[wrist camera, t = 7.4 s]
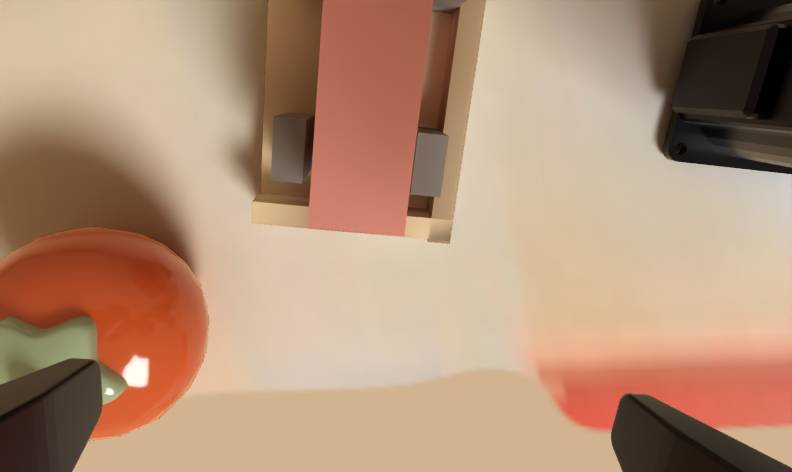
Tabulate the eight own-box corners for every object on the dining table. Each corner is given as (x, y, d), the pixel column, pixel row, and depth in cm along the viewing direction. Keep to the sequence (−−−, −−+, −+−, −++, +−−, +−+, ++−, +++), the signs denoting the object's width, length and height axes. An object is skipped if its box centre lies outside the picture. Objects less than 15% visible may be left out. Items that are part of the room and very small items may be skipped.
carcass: (486, -102, 18) (520, -155, 14) (439, 225, 21) (456, 256, 17) (278, -134, 17) (254, -200, 13) (264, 209, 20) (241, 238, 16)
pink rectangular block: (345, -85, 16) (335, -191, 10) (420, -74, 17) (454, -170, 11) (325, 182, 19) (307, 227, 13) (390, 188, 19) (404, 236, 13)
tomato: (64, 179, 19) (-132, 238, 12) (252, 236, 20) (186, 324, 13) (35, 343, 21) (-151, 487, 14) (209, 387, 22) (130, 543, 15)
